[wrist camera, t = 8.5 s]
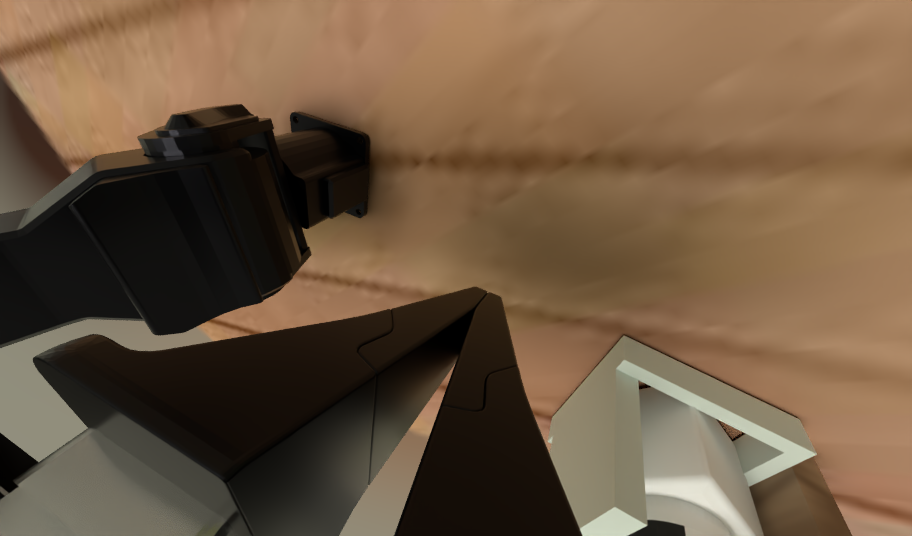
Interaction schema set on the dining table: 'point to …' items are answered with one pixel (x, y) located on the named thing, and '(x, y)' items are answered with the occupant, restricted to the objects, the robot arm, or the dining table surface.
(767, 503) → the wall
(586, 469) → the white angle bracket
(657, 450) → the medicine bottle
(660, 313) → the dining table surface
